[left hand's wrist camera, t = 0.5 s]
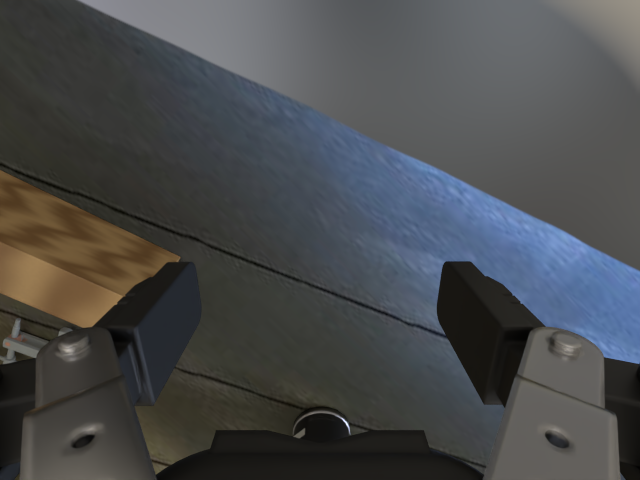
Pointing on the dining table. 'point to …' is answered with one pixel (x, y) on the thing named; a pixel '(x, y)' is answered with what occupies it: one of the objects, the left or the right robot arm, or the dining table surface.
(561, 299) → the dining table surface
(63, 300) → the box
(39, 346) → the clamp
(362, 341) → the dining table surface
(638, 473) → the left robot arm
